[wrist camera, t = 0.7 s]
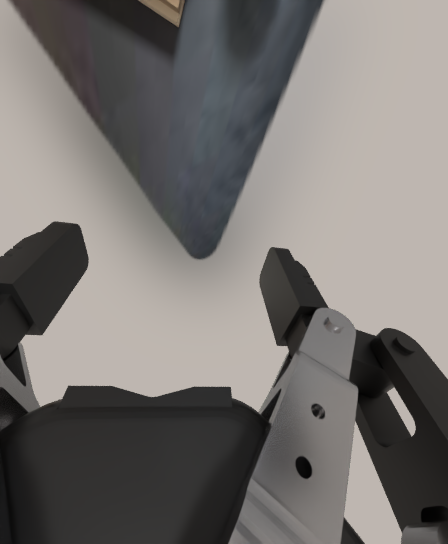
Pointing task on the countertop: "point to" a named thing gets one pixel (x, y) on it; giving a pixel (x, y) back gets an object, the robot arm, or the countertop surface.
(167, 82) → the countertop surface
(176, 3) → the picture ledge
